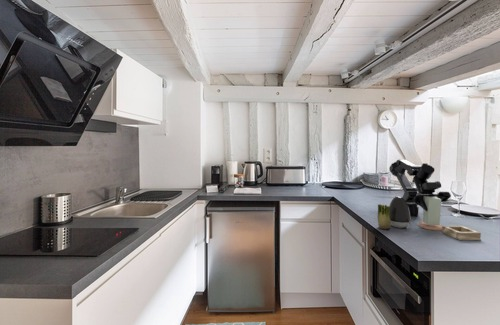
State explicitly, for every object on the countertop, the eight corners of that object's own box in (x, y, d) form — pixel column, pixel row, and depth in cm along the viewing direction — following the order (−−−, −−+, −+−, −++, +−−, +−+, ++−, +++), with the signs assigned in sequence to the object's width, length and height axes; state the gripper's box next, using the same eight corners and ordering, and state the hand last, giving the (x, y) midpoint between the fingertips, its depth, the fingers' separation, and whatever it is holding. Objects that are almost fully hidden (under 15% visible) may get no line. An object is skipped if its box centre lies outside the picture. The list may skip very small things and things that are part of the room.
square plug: (422, 221, 118) (423, 196, 117) (433, 222, 117) (435, 196, 116) (427, 224, 114) (429, 198, 112) (439, 225, 112) (441, 199, 111)
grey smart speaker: (406, 223, 121) (407, 194, 120) (413, 230, 111) (414, 199, 110) (384, 222, 124) (384, 194, 123) (389, 228, 114) (389, 198, 113)
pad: (417, 227, 115) (418, 226, 115) (419, 222, 122) (419, 220, 122) (444, 232, 108) (444, 230, 108) (444, 226, 116) (444, 224, 116)
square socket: (442, 232, 108) (442, 225, 108) (461, 231, 108) (461, 225, 108) (459, 240, 99) (459, 233, 99) (480, 239, 99) (480, 232, 99)
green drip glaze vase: (375, 226, 117) (376, 203, 117) (385, 226, 117) (386, 203, 116) (382, 230, 112) (382, 206, 111) (392, 230, 111) (392, 206, 111)
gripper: (407, 175, 119) (418, 201, 109) (449, 175, 116) (464, 203, 106) (400, 187, 128) (409, 213, 118) (439, 188, 124) (452, 214, 114)
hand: (433, 211), depth 114 cm, fingers closed on square plug, 5 cm apart
